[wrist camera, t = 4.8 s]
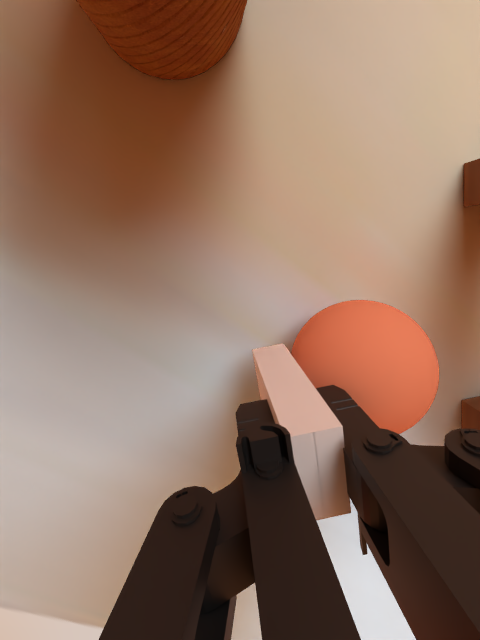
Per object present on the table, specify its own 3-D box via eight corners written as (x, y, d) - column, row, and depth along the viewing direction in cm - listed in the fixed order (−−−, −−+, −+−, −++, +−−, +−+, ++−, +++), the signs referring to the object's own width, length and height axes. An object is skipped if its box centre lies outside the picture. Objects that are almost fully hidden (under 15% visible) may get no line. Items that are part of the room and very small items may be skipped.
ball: (435, 326, 8) (450, 291, 13) (259, 312, 12) (320, 288, 17) (422, 500, 10) (440, 413, 14) (268, 440, 13) (322, 386, 18)
